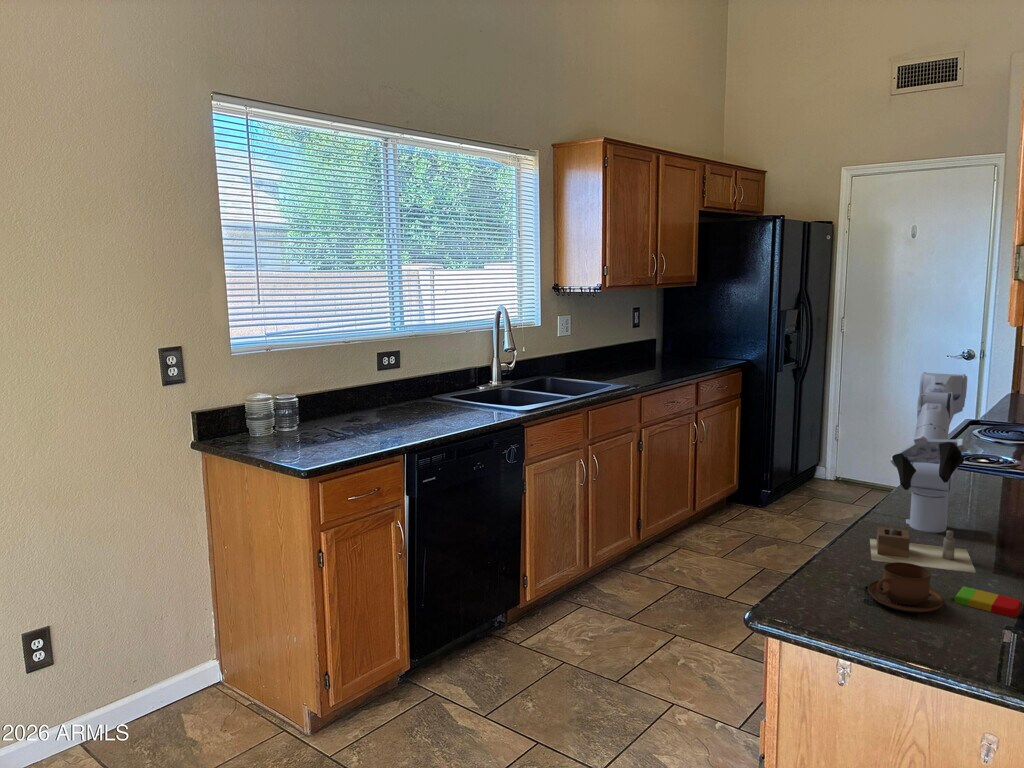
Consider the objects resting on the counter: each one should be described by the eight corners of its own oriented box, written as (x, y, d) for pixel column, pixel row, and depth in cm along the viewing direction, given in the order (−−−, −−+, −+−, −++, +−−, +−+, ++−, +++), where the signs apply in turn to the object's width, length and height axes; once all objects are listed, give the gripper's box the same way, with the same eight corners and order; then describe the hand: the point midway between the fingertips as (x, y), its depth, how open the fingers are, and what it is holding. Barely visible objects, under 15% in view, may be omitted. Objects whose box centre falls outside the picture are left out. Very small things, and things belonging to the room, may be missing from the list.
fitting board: (869, 543, 164) (871, 513, 163) (966, 554, 156) (968, 523, 156) (871, 564, 152) (872, 533, 151) (975, 577, 145) (978, 545, 144)
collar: (876, 545, 160) (877, 526, 159) (906, 548, 157) (907, 529, 157) (877, 554, 155) (878, 535, 154) (908, 558, 152) (909, 538, 152)
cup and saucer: (922, 625, 127) (924, 590, 126) (854, 600, 136) (855, 568, 135) (956, 605, 134) (958, 572, 133) (889, 583, 143) (890, 552, 142)
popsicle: (1016, 621, 128) (1017, 610, 128) (918, 596, 138) (919, 586, 138) (1022, 609, 132) (1023, 599, 132) (927, 586, 142) (927, 577, 142)
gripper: (886, 430, 163) (877, 476, 154) (957, 412, 152) (951, 461, 144) (903, 452, 165) (895, 499, 156) (974, 436, 154) (970, 486, 145)
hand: (923, 482), depth 150 cm, fingers open, 7 cm apart
